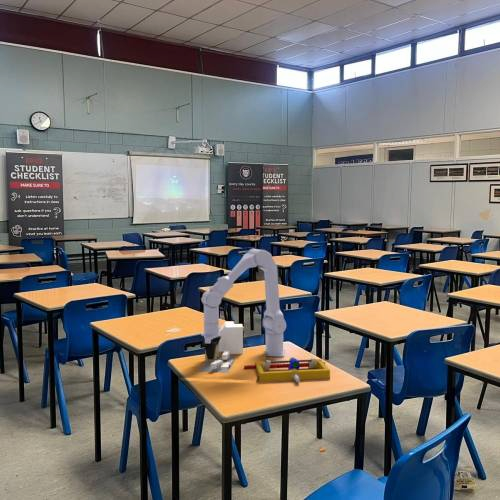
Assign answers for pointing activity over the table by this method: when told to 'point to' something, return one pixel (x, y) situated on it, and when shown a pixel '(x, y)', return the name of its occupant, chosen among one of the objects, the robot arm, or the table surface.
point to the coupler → (216, 355)
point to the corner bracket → (231, 338)
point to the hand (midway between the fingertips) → (212, 357)
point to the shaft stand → (219, 364)
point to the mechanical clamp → (291, 370)
